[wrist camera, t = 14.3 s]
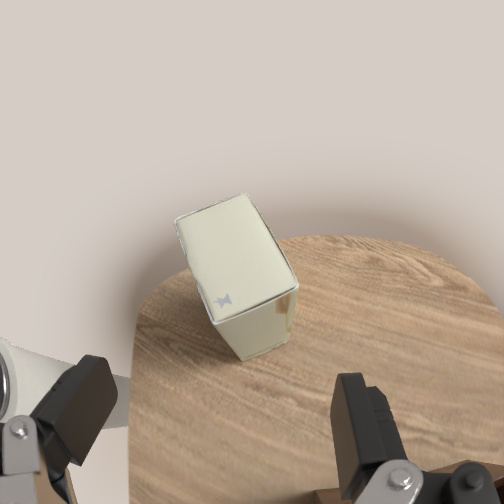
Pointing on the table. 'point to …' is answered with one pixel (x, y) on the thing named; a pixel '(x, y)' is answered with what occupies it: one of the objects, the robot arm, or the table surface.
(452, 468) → the chest
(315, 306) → the table surface
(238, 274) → the cosmetic box
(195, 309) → the table surface
